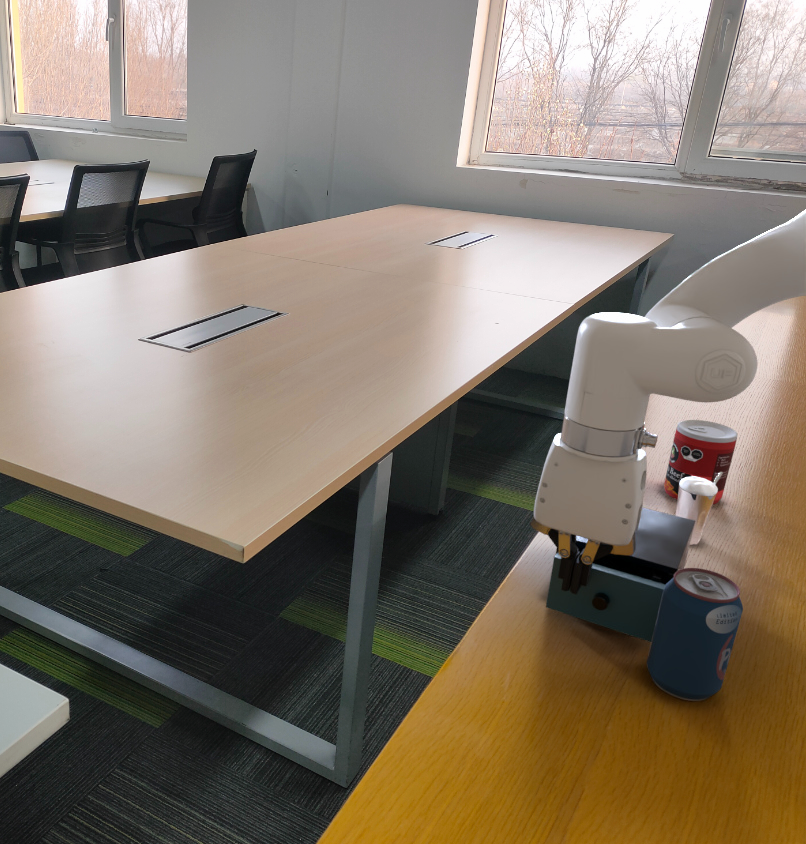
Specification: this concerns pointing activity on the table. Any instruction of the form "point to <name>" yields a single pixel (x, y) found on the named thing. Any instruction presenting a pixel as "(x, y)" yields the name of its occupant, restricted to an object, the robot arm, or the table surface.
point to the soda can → (694, 633)
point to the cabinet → (658, 542)
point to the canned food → (700, 454)
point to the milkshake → (696, 502)
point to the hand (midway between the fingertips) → (572, 586)
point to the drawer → (612, 596)
